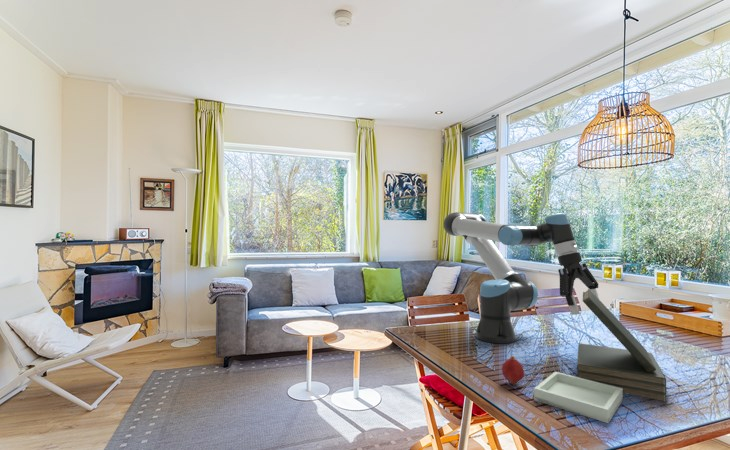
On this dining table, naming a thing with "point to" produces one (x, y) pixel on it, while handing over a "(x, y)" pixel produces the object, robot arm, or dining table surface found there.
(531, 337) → the dining table surface
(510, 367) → the onion
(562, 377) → the tray
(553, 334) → the dining table surface
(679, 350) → the dining table surface
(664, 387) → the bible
